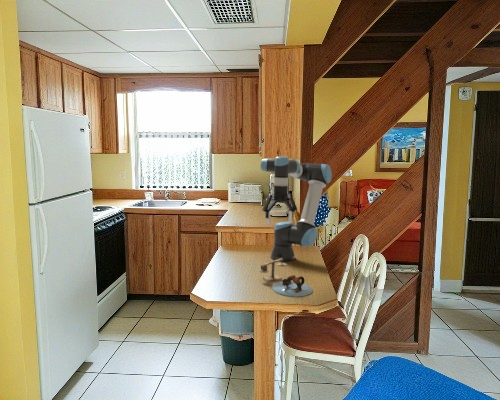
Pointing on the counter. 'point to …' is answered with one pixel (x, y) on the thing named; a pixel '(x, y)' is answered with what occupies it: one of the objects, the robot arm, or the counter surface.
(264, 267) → the balance
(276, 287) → the plate
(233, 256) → the counter surface
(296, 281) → the pottery mug
